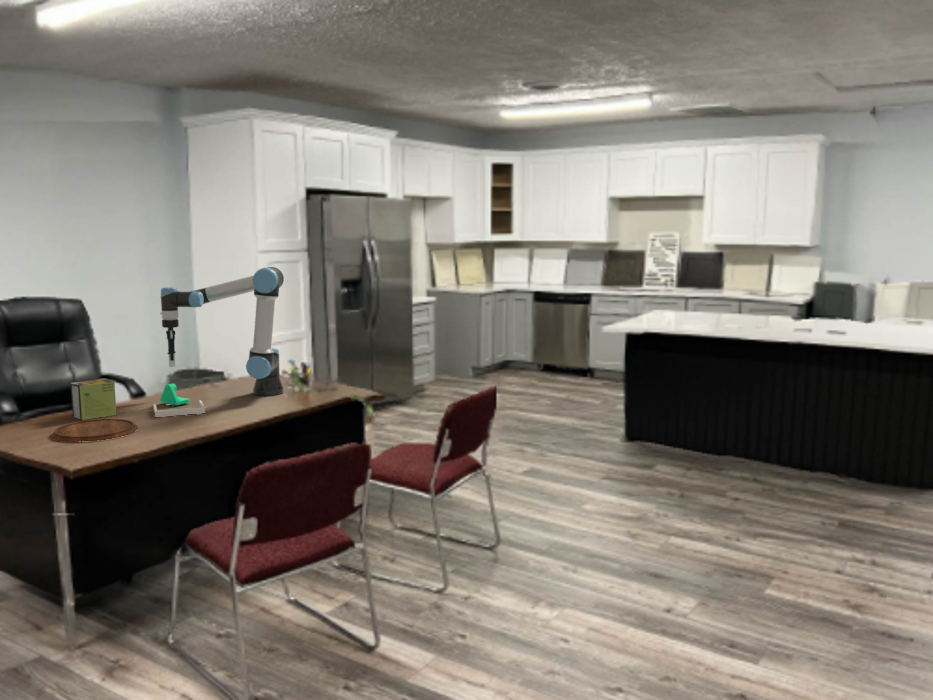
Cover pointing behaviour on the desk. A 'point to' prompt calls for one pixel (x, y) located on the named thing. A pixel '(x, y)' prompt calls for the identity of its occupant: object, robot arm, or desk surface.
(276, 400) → the desk surface
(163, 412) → the housing frame
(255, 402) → the desk surface
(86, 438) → the cutting board
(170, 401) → the camera mount
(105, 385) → the protein box
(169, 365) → the robot arm
